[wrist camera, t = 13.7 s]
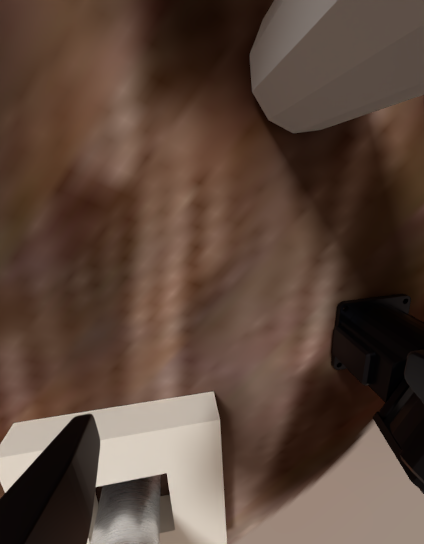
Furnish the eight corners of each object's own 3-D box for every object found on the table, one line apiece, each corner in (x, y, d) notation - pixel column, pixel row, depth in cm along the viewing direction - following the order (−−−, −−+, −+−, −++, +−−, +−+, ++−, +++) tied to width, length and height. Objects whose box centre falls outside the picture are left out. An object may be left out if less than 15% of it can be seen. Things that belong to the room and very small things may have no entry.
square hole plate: (213, 391, 24) (219, 419, 21) (221, 514, 29) (227, 550, 26) (13, 423, 22) (-10, 459, 19) (60, 549, 27) (47, 592, 24)
